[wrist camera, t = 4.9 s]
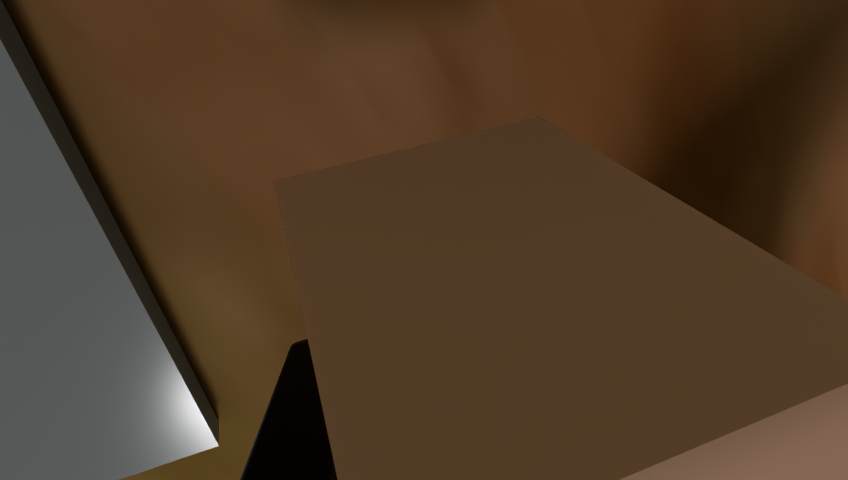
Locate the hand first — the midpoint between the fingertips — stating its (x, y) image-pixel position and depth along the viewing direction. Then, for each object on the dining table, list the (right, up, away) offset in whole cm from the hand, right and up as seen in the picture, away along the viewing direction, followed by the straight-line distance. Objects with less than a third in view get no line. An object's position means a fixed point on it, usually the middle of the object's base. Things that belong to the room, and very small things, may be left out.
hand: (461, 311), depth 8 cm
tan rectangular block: (0, +1, +1) cm, 2 cm away
